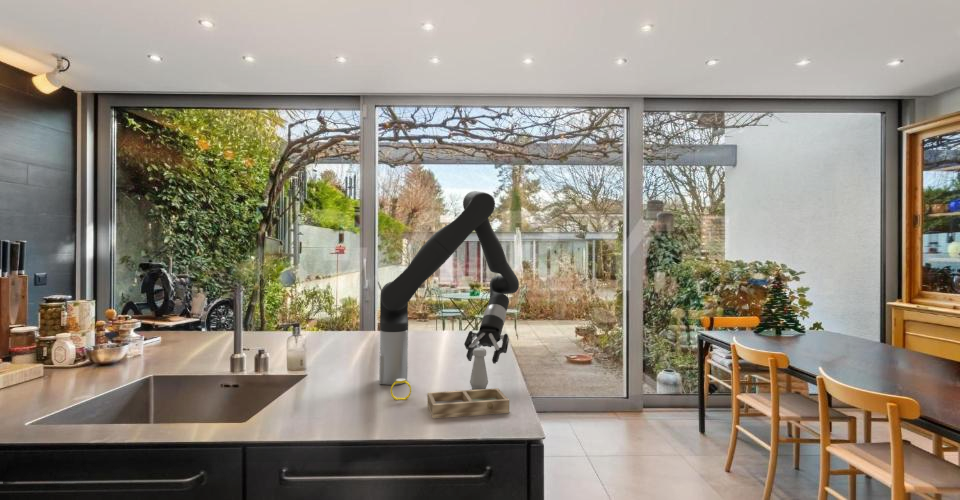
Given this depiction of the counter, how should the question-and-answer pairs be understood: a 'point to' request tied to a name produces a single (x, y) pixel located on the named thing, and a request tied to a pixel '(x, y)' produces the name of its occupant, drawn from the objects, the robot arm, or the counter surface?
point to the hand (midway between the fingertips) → (481, 361)
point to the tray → (467, 403)
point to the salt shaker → (479, 370)
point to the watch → (401, 382)
